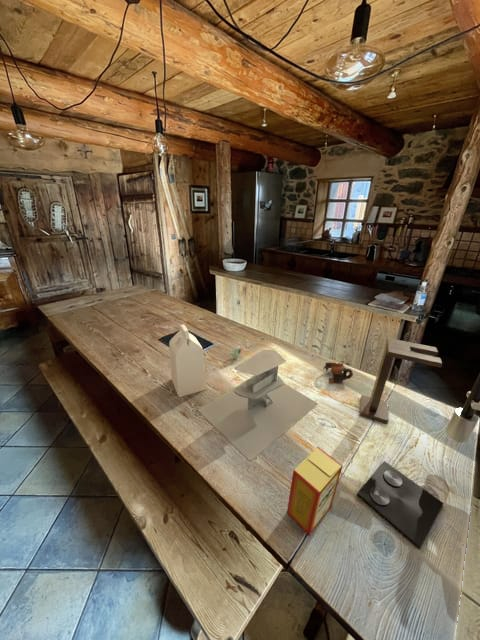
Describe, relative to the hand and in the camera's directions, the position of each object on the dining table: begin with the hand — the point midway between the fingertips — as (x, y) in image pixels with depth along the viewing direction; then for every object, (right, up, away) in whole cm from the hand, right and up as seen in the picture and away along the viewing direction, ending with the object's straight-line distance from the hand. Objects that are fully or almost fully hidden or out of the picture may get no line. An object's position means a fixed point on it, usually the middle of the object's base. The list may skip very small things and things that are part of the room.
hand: (469, 399), depth 72 cm
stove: (-21, -25, -4) cm, 33 cm away
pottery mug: (-21, -4, +42) cm, 47 cm away
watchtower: (-55, -11, +26) cm, 62 cm away
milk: (-83, -5, +37) cm, 91 cm away
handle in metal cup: (+1, -12, +5) cm, 13 cm away
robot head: (-64, +3, +54) cm, 84 cm away
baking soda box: (-45, -26, -6) cm, 52 cm away
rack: (-10, -12, +24) cm, 28 cm away
